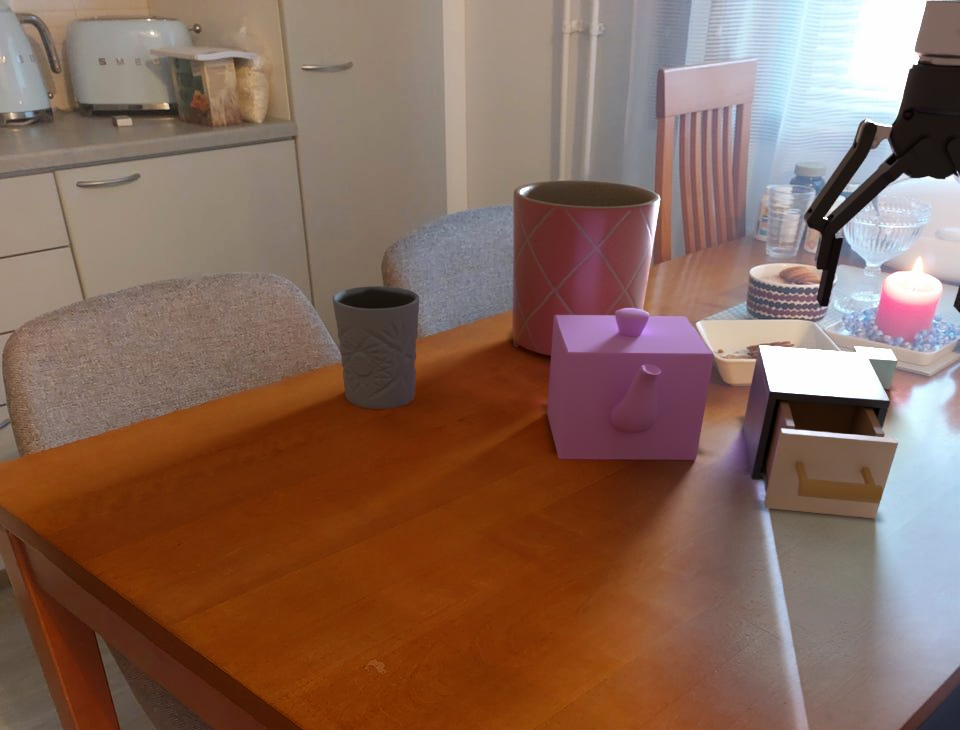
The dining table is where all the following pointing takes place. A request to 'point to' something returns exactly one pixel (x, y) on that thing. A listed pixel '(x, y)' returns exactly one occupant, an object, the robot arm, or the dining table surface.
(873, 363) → the block
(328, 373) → the dining table surface
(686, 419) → the teapot
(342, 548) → the dining table surface
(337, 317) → the gray embossed cup
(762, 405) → the cabinet
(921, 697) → the dining table surface
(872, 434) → the drawer
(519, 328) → the planter
